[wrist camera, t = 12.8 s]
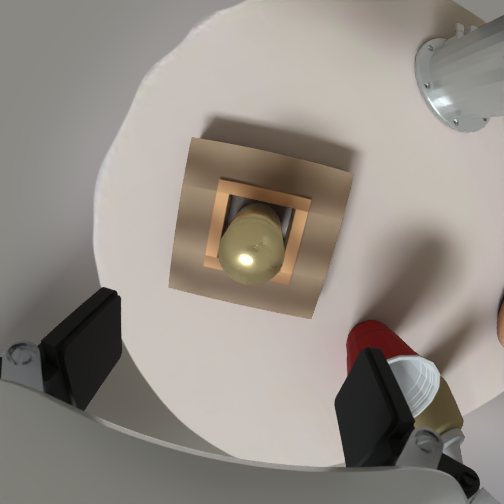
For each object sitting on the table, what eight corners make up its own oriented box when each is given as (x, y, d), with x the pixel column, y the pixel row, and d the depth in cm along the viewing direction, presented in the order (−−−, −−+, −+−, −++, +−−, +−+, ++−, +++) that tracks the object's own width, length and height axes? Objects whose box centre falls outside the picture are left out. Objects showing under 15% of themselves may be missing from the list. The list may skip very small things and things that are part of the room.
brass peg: (239, 198, 31) (224, 214, 21) (285, 208, 31) (291, 229, 21) (229, 242, 32) (213, 276, 23) (274, 252, 32) (275, 290, 23)
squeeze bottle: (386, 400, 38) (418, 489, 21) (406, 362, 36) (454, 454, 19) (424, 398, 38) (462, 476, 21) (445, 361, 36) (496, 440, 19)
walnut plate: (199, 139, 29) (191, 137, 26) (346, 172, 29) (354, 173, 26) (176, 277, 34) (167, 288, 31) (308, 306, 34) (311, 320, 31)
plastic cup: (344, 293, 33) (374, 352, 22) (415, 309, 33) (458, 363, 22) (313, 363, 36) (325, 431, 25) (381, 373, 37) (406, 433, 25)
